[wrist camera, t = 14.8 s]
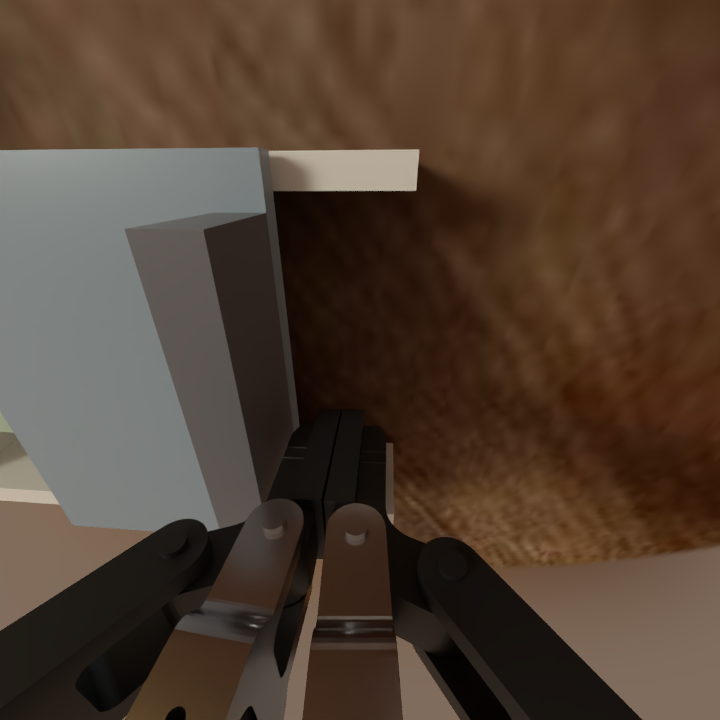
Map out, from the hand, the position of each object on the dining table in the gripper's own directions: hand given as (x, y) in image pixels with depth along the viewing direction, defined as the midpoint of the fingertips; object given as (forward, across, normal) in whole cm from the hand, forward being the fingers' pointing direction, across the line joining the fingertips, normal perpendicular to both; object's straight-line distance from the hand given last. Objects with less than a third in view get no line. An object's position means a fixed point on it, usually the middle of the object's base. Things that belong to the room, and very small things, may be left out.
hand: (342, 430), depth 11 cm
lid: (+2, +8, 0) cm, 8 cm away
